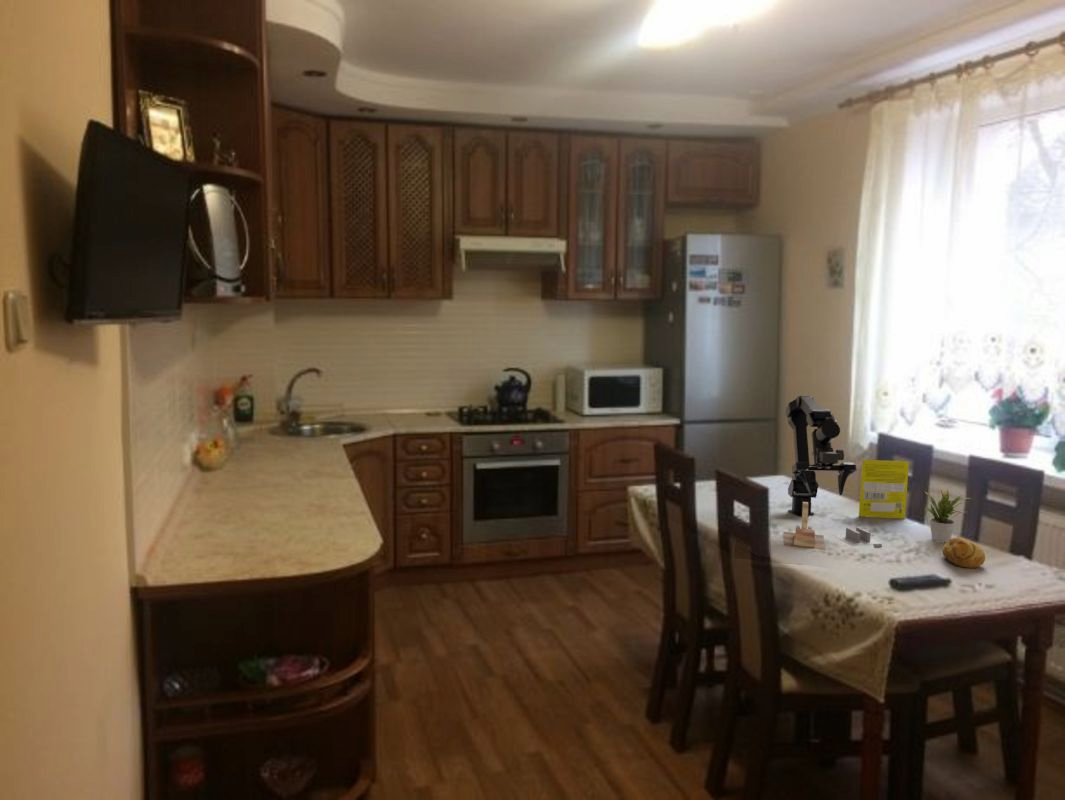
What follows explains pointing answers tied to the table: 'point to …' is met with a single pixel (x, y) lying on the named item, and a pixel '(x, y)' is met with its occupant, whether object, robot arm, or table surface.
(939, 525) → the house plant
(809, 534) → the upper offcut
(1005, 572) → the table surface
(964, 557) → the bread roll
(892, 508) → the food package
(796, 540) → the lower offcut
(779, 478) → the table surface
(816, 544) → the offcut rack
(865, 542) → the slate stand
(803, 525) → the tan wooden block
